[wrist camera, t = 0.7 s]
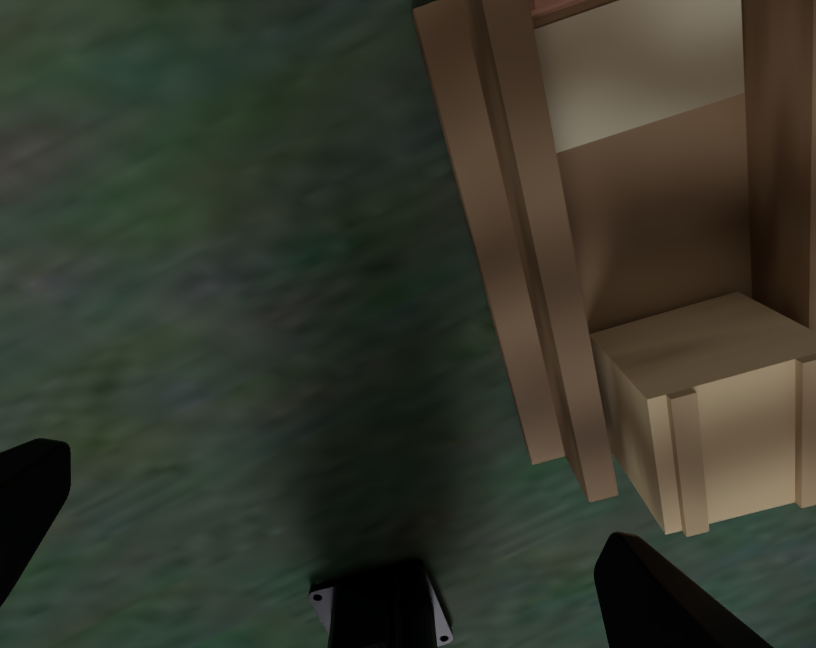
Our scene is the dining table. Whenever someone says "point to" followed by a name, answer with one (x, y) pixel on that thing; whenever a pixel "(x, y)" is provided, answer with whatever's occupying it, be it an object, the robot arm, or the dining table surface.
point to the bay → (623, 178)
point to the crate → (711, 410)
